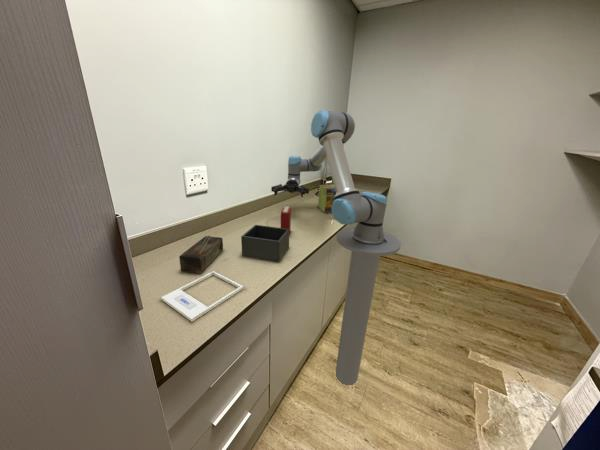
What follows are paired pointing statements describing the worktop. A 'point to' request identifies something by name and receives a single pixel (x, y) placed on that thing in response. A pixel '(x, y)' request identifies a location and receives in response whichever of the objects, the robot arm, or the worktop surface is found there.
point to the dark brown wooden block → (201, 254)
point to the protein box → (326, 197)
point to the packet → (286, 218)
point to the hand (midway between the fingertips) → (288, 193)
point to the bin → (265, 243)
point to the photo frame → (192, 306)
